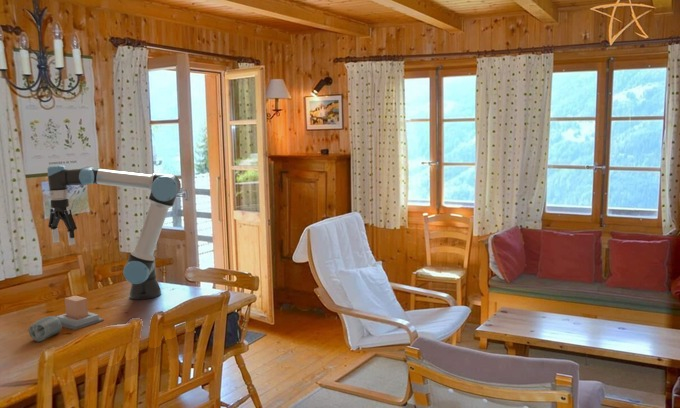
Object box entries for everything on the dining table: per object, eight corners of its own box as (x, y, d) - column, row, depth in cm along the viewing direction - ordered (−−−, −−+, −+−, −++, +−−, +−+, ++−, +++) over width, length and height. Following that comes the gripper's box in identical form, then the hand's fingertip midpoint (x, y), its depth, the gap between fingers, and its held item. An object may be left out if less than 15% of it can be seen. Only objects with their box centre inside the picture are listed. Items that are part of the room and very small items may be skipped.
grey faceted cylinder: (43, 337, 232) (36, 313, 235) (26, 346, 235) (20, 323, 238) (70, 334, 245) (64, 311, 247) (54, 342, 248) (48, 320, 250)
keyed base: (81, 314, 271) (81, 308, 270) (103, 320, 261) (102, 314, 261) (52, 323, 260) (51, 316, 259) (73, 330, 250) (73, 323, 249)
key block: (77, 317, 265) (75, 295, 264) (88, 320, 260) (86, 298, 258) (66, 320, 261) (64, 298, 260) (78, 323, 256) (76, 301, 254)
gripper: (37, 199, 279) (42, 243, 282) (66, 200, 265) (71, 247, 267) (52, 197, 285) (57, 240, 288) (81, 198, 271) (86, 244, 273)
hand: (64, 243), depth 278 cm, fingers open, 13 cm apart
